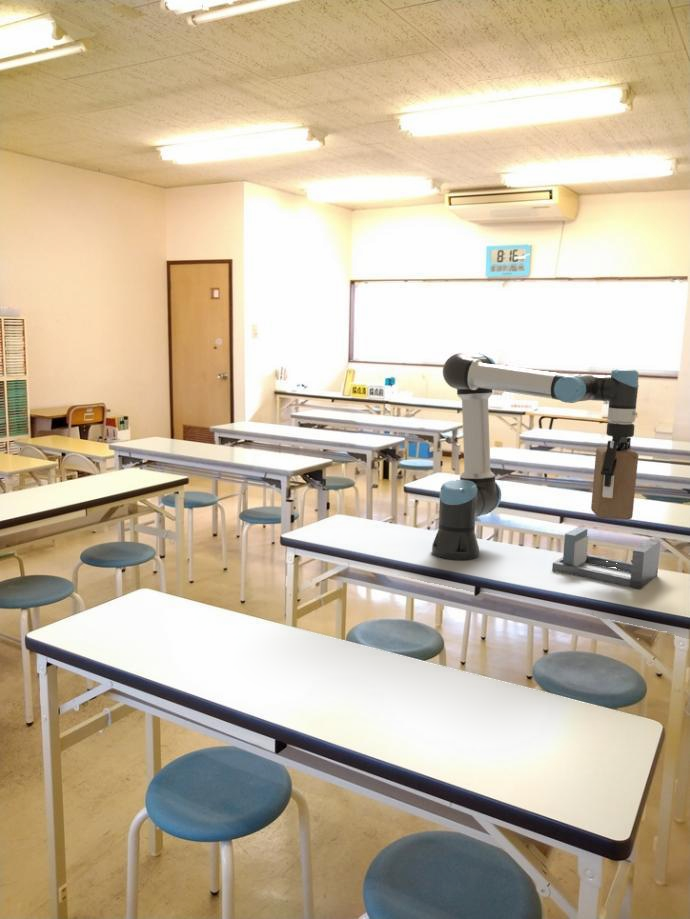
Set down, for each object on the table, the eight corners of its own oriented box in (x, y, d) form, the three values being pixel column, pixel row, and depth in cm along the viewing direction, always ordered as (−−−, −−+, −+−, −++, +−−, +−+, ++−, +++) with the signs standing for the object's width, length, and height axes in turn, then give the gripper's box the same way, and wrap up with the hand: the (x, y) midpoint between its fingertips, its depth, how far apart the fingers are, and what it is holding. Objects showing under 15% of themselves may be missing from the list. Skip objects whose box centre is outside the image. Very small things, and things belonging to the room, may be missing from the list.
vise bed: (552, 570, 219) (554, 535, 217) (572, 558, 232) (575, 525, 230) (640, 589, 203) (644, 552, 201) (657, 575, 216) (660, 540, 215)
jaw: (562, 568, 220) (565, 533, 218) (575, 560, 229) (578, 527, 227) (573, 571, 218) (576, 535, 216) (586, 563, 226) (589, 529, 225)
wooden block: (633, 520, 209) (639, 452, 206) (597, 518, 210) (603, 451, 207) (623, 512, 219) (630, 447, 215) (590, 510, 220) (595, 446, 217)
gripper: (620, 427, 198) (614, 502, 201) (646, 420, 217) (640, 489, 221) (593, 424, 202) (587, 498, 206) (621, 418, 222) (615, 486, 225)
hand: (614, 494), depth 213 cm, fingers closed on wooden block, 13 cm apart
